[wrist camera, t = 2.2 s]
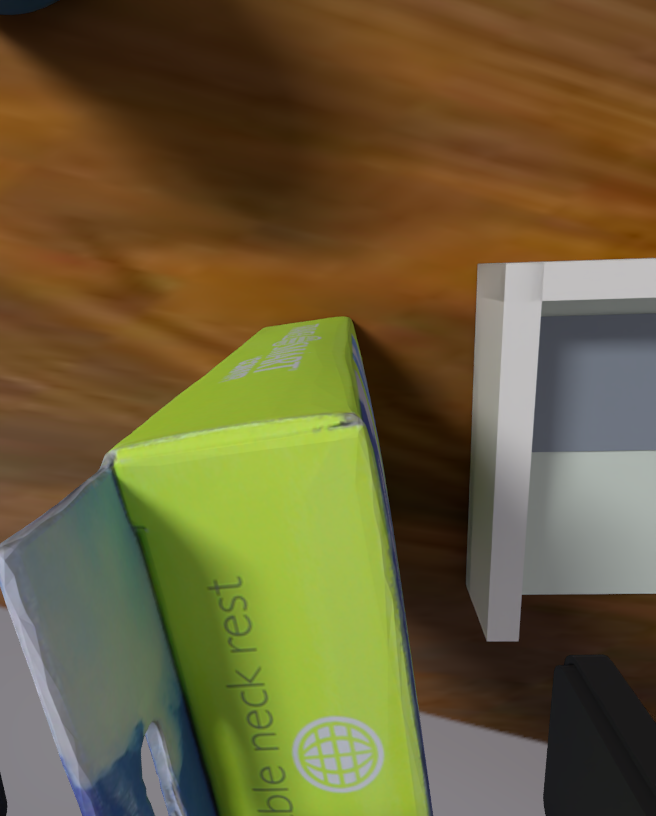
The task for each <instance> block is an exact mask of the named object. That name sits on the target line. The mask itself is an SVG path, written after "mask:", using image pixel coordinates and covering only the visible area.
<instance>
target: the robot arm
mask: <svg viewBox="0 0 656 816" xmlns="http://www.w3.org/2000/svg"><path fill="white" fill-rule="evenodd" d="M543 795H544V796H543V799H544V800H543V801H544V808H545V814H546V816H656V723H655V722H654V720H653V719H652V717H651V716H650V715H649V713H648V712H647V710H646V709H645V707H644V706H643V705H642V703H641V702H640V700H639V699H638V698H637V696H636V695H635V693H634V692H633V690H632V689H631V688H630V686H629V685H628V683H627V682H626V680H625V679H624V678H623V676H622V675H621V673H620V672H619V671H618V669H617V668H616V666H615V665H614V663H613V662H612V661H611V660H610V659H609V657H608V656H605V655H569V656H567V657H566V659H565V663H564V665H558V666H556V667H555V670H554V678H553V690H552V701H551V713H550V724H549V736H548V748H547V760H546V772H545V783H544V794H543ZM6 813H7V800H6V796H5V791H4V787H3V783H2V778H1V774H0V816H6Z"/></svg>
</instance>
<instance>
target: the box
mask: <svg viewBox="0 0 656 816" xmlns="http://www.w3.org/2000/svg"><path fill="white" fill-rule="evenodd" d="M0 587H1V590H2V593H3V596H4V599H5V602H6V605H7V608H8V610H9V613H10V616H11V619H12V622H13V624H14V627H15V630H16V633H17V636H18V638H19V641H20V644H21V646H22V650H23V652H24V655H25V658H26V661H27V664H28V666H29V669H30V672H31V675H32V677H33V680H34V683H35V686H36V689H37V692H38V695H39V697H40V700H41V703H42V706H43V709H44V712H45V715H46V718H47V721H48V724H49V727H50V730H51V732H52V735H53V738H54V741H55V744H56V747H57V750H58V753H59V756H60V759H61V761H62V764H63V767H64V769H65V772H66V774H67V777H68V779H69V782H70V784H71V787H72V789H73V791H74V794H75V797H76V799H77V802H78V804H79V807H80V810H81V813H82V816H155V815H154V812H153V809H152V806H151V803H150V801H149V800H148V797H147V795H146V787H145V784H144V782H143V779H142V766H141V747H142V742H143V739H144V736H146V739H147V742H148V745H149V748H150V751H151V755H152V758H153V761H154V765H155V769H156V773H157V775H158V777H159V781H160V787H161V791H162V794H163V797H164V800H165V803H166V807H167V810H168V814H169V816H433V811H432V804H431V796H430V789H429V781H428V775H427V767H426V759H425V753H424V745H423V738H422V730H421V723H420V716H419V708H418V701H417V694H416V687H415V679H414V672H413V665H412V658H411V651H410V644H409V636H408V629H407V622H406V615H405V608H404V600H403V593H402V586H401V579H400V572H399V565H398V559H397V552H396V545H395V538H394V531H393V525H392V518H391V512H390V506H389V499H388V493H387V487H386V480H385V474H384V468H383V462H382V456H381V451H380V445H379V440H378V434H377V429H376V424H375V419H374V414H373V409H372V404H371V399H370V395H369V390H368V385H367V380H366V376H365V371H364V366H363V362H362V357H361V353H360V349H359V345H358V341H357V337H356V333H355V329H354V325H353V322H352V320H351V318H349V317H333V318H325V319H319V320H312V321H305V322H298V323H291V324H285V325H278V326H271V327H266V328H263V329H262V330H260V331H259V332H258V333H256V334H255V335H254V336H253V337H252V338H250V339H249V340H248V341H247V342H245V343H244V344H243V345H242V346H241V347H240V348H238V349H237V350H236V351H234V352H233V353H232V354H231V355H229V356H228V357H227V358H226V359H225V360H223V361H222V362H221V363H219V364H218V365H217V366H216V367H214V368H213V369H212V370H211V371H210V372H209V373H207V374H206V375H205V376H204V377H202V378H201V379H200V380H198V381H197V382H195V383H194V384H193V385H191V386H190V387H189V388H187V389H186V390H185V391H183V392H182V393H181V394H179V395H178V396H177V397H176V398H174V399H173V400H172V401H171V402H169V403H168V404H167V405H166V406H164V407H163V408H162V409H161V410H159V411H158V412H157V413H156V414H154V415H153V416H152V417H151V418H150V419H148V420H147V421H146V422H145V423H144V424H142V425H141V426H140V427H138V428H137V429H136V430H135V431H134V432H133V433H132V434H130V435H129V436H127V437H126V438H124V439H123V440H122V441H121V442H119V443H118V444H117V445H116V446H114V447H113V448H112V449H111V450H110V451H109V452H108V453H106V454H105V457H104V459H103V462H102V464H101V467H100V469H99V470H98V472H97V473H95V474H94V475H93V476H92V477H90V478H89V479H88V480H86V481H85V482H84V483H83V484H81V485H80V486H79V487H78V488H76V489H75V490H74V491H73V492H71V493H70V494H69V495H68V496H67V497H65V498H64V499H63V500H62V501H60V502H59V503H58V504H57V505H55V506H54V507H52V508H51V509H50V510H48V511H47V512H46V513H44V514H43V515H42V516H41V517H39V518H38V519H36V520H35V521H33V522H32V523H30V524H29V525H28V526H26V527H25V528H23V529H22V530H20V531H19V532H17V533H16V534H14V535H13V536H11V537H10V538H8V539H7V540H5V541H4V542H2V543H1V544H0Z"/></svg>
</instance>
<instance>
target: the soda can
mask: <svg viewBox="0 0 656 816" xmlns="http://www.w3.org/2000/svg"><path fill="white" fill-rule="evenodd" d="M57 1H58V0H0V14H2V15H16V14H25V13H30V12H33V11H37V10H40V9H42V8H45V7H47V6H49V5H51V4H53V3H55V2H57Z"/></svg>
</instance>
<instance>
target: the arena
mask: <svg viewBox="0 0 656 816" xmlns="http://www.w3.org/2000/svg"><path fill="white" fill-rule="evenodd" d="M466 587H467V589H468V592H469V595H470V597H471V600H472V603H473V606H474V608H475V611H476V614H477V616H478V619H479V622H480V624H481V627H482V630H483V632H484V635H485V638H486V640H487V641H519V628H520V613H521V599H522V595H539V594H656V258H640V259H609V260H579V261H549V262H519V263H488V264H478V273H477V300H476V326H475V352H474V379H473V405H472V431H471V458H470V484H469V511H468V537H467V563H466Z"/></svg>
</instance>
